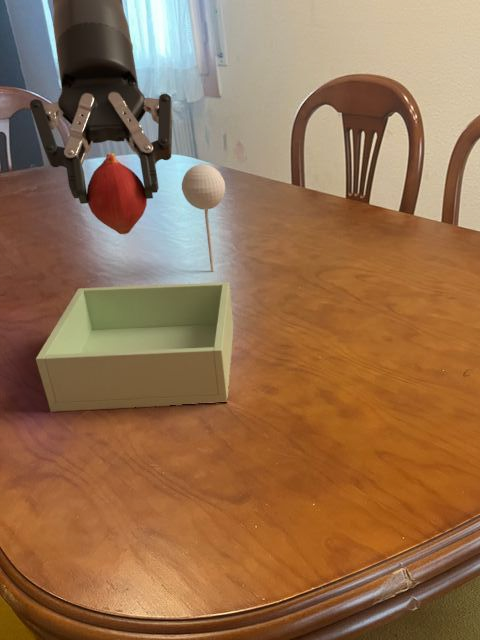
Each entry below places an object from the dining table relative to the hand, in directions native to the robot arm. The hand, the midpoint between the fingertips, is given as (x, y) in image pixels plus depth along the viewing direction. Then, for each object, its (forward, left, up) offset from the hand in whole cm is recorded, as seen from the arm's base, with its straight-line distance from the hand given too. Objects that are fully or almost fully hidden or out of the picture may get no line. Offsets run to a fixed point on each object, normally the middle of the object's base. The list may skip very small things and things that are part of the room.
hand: (116, 196), depth 65 cm
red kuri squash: (0, +2, -4) cm, 5 cm away
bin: (+1, -2, -18) cm, 18 cm away
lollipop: (+6, +27, -18) cm, 33 cm away
